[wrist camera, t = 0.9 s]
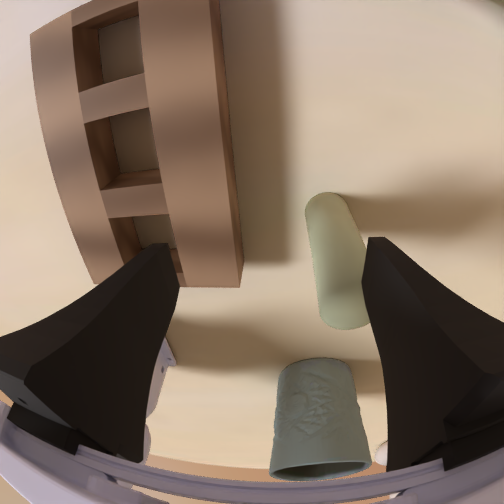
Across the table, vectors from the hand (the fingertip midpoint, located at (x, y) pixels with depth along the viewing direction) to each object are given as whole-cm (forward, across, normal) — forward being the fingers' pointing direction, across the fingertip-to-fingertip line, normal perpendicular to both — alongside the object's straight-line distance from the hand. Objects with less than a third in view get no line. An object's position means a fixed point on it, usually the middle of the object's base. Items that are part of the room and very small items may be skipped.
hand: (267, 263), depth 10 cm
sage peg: (+10, -4, +3) cm, 11 cm away
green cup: (+10, -4, +24) cm, 26 cm away
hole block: (+10, +8, -3) cm, 13 cm away
